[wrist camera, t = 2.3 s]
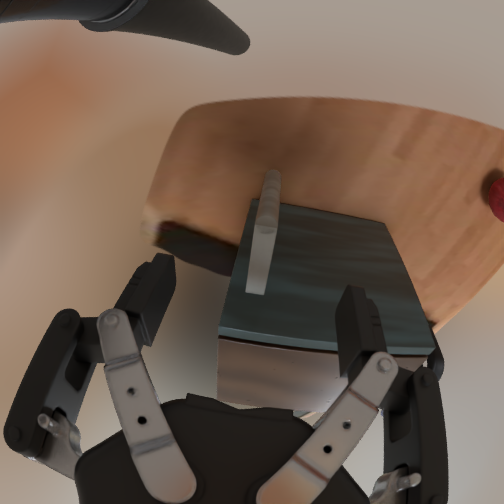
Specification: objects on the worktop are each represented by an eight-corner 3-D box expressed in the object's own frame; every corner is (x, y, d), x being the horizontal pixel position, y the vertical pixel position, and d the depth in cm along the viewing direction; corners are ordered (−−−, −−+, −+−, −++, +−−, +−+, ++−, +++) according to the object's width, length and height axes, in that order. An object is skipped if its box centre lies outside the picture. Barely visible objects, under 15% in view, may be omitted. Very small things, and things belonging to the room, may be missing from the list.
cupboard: (250, 207, 33) (217, 338, 18) (381, 231, 33) (428, 357, 18) (241, 279, 41) (216, 400, 26) (351, 296, 40) (368, 412, 25)
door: (258, 144, 28) (222, 243, 14) (402, 176, 28) (483, 287, 13) (250, 205, 33) (218, 334, 18) (382, 230, 33) (429, 354, 18)
